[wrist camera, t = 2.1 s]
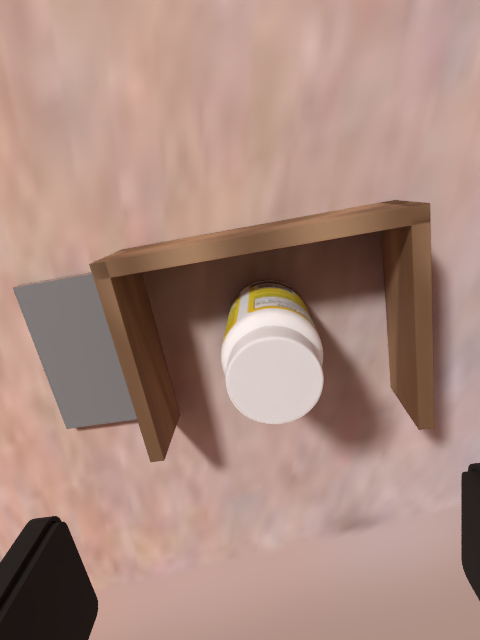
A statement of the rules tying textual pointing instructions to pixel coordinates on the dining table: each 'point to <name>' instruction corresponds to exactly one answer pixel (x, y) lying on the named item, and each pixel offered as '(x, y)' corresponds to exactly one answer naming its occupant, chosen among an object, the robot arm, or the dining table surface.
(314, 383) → the supplement bottle
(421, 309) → the walnut bay
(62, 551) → the robot arm
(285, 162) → the dining table surface
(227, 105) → the dining table surface
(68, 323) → the slate coaster
